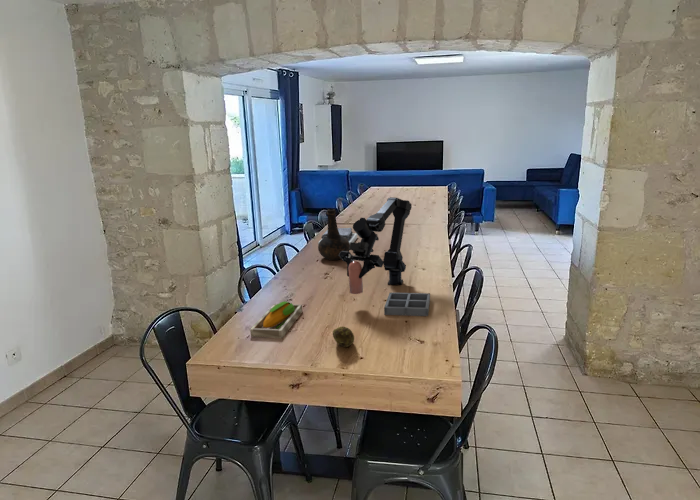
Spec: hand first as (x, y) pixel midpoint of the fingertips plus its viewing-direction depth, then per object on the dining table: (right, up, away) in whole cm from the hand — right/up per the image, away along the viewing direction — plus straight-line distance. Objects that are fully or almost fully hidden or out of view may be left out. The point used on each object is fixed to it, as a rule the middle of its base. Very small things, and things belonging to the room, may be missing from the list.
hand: (353, 277), depth 195 cm
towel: (-9, +16, +111) cm, 113 cm away
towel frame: (-9, +16, +111) cm, 113 cm away
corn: (-29, -18, -8) cm, 35 cm away
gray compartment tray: (+22, -12, +2) cm, 25 cm away
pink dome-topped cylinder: (+1, -6, +3) cm, 7 cm away
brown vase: (-10, +6, +77) cm, 78 cm away
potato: (-3, -22, -29) cm, 37 cm away
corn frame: (-29, -18, -8) cm, 35 cm away
